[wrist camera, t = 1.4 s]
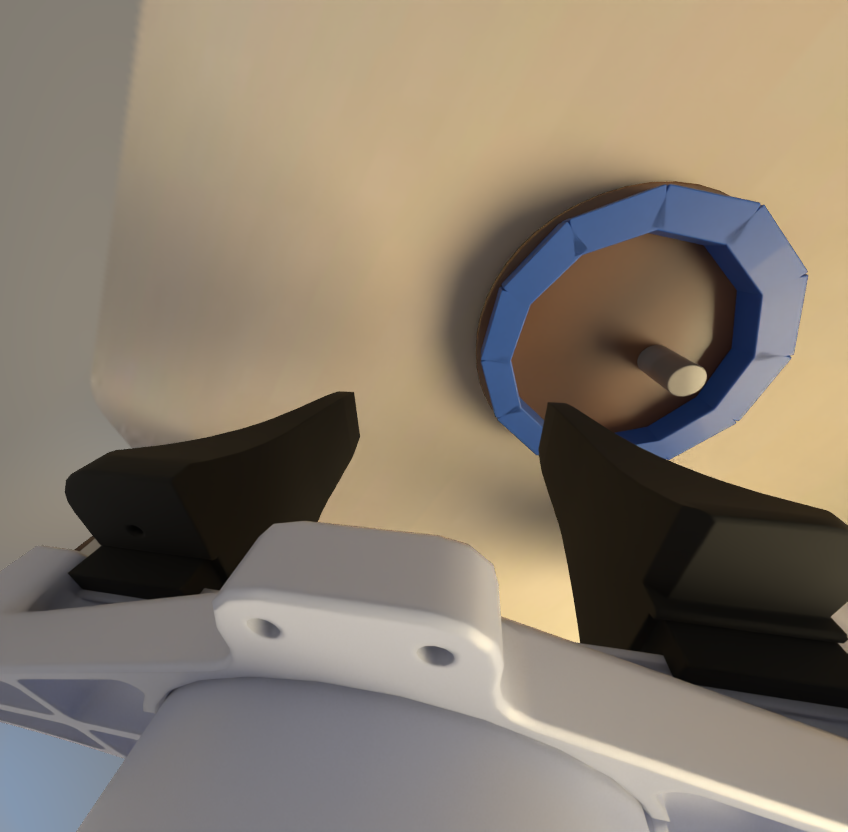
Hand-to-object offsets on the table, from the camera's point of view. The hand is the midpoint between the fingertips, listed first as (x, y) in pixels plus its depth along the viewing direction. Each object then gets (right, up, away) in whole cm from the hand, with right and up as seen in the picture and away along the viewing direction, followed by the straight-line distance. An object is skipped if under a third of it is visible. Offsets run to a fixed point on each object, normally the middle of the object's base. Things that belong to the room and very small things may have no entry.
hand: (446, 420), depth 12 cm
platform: (+10, +4, +7) cm, 13 cm away
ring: (+10, +4, +6) cm, 12 cm away
